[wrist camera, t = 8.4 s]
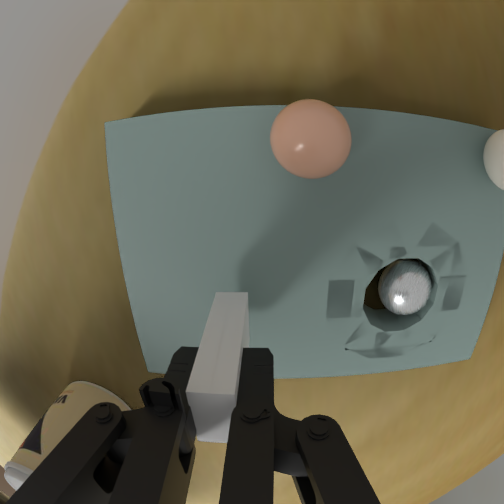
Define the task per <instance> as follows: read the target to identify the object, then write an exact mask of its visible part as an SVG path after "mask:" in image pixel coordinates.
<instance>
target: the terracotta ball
mask: <svg viewBox="0 0 504 504" xmlns="http://www.w3.org/2000/svg"><path fill="white" fill-rule="evenodd" d="M351 143H352V137H351V131H350V128H349V125H348V123H347V121H346V119H345V118H344V116H343V115H342V114H341V113H340V112H339V111H338V110H337V109H336V108H335V107H333V106H332V105H330V104H328V103H326V102H323V101H320V100H315V99H304V100H299V101H296V102H293V103H291V104H289V105H288V106H286V107H285V108H284V109H282V110H281V111H280V112H279V114H278V115H277V116H276V118H275V120H274V122H273V124H272V127H271V131H270V144H271V149H272V151H273V154H274V156H275V158H276V159H277V161H278V162H279V164H280V165H281V166H282V167H283V168H285V169H286V170H287V171H288V172H290V173H292V174H294V175H296V176H298V177H301V178H306V179H318V178H323V177H326V176H328V175H330V174H332V173H334V172H335V171H337V170H338V169H339V168H340V167H341V166H342V165H343V164H344V163H345V161H346V160H347V158H348V156H349V153H350V150H351Z"/></svg>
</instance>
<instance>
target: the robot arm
mask: <svg viewBox="0 0 504 504" xmlns="http://www.w3.org/2000/svg"><path fill="white" fill-rule="evenodd" d="M249 341H250V335H249V310H248V292H216V294H215V297H214V301H213V304H212V307H211V310H210V313H209V317H208V320H207V323H206V326H205V329H204V333H203V336H202V339H201V342H200V346H199V347H186V346H181V347H180V348H179V349H178V350H177V351H176V352H175V353H174V354H173V356H172V359H171V361H170V364H169V367H168V369H167V372H166V374H165V377H164V378H155V379H152V380H149V381H147V382H145V383H144V384H143V385H142V386H141V387H140V389H139V391H140V394H141V397H142V400H143V402H144V405H145V407H144V408H141V409H136V410H127V411H121V409H120V408H119V406H117V405H116V404H114V403H111V402H101V403H98V404H95V405H94V406H92V407H91V408H90V409H89V410H88V411H87V412H86V413H85V414H84V415H83V417H82V418H81V419H80V420H79V421H78V422H77V423H76V424H75V425H74V426H73V428H72V429H71V430H70V431H69V432H68V433H67V434H66V435H65V437H64V438H63V439H62V440H61V441H60V442H59V443H58V444H57V445H56V447H55V448H54V449H53V450H52V451H51V452H50V453H49V454H48V456H47V457H46V458H45V459H44V460H43V461H42V462H41V463H40V465H39V466H38V467H37V468H36V469H35V470H34V471H33V473H32V474H31V475H30V476H29V477H28V478H27V479H26V480H25V482H24V483H23V484H22V485H21V486H20V487H19V488H18V490H17V491H16V492H15V493H14V494H13V495H12V497H11V498H10V497H8V496H7V495H6V494H4V493H3V492H2V491H0V504H185V503H186V498H187V493H188V488H189V483H190V478H191V473H192V468H193V464H194V459H195V454H196V450H195V445H194V441H195V437H196V435H197V439H198V441H205V442H218V443H227V449H226V456H225V464H224V471H223V478H222V486H221V493H220V500H219V504H273V485H274V471H277V472H280V473H284V474H288V475H292V478H293V480H294V483H295V486H296V489H297V492H298V495H299V497H300V500H301V503H302V504H380V502H379V500H378V498H377V496H376V494H375V492H374V490H373V488H372V486H371V485H370V483H369V481H368V479H367V477H366V475H365V473H364V471H363V469H362V467H361V466H360V464H359V462H358V460H357V458H356V456H355V454H354V452H353V450H352V448H351V447H350V445H349V443H348V441H347V439H346V437H345V435H344V433H343V431H342V429H341V428H340V426H339V424H338V423H337V422H336V421H335V420H334V419H332V418H331V417H329V416H325V415H311V416H309V417H306V418H304V419H303V420H302V421H299V420H295V419H291V418H288V417H285V416H284V415H282V414H280V413H279V412H278V411H277V409H276V407H275V405H274V356H273V354H272V353H271V351H270V350H269V348H249Z"/></svg>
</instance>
